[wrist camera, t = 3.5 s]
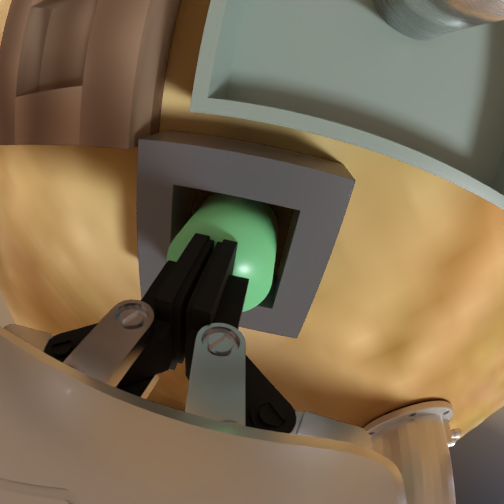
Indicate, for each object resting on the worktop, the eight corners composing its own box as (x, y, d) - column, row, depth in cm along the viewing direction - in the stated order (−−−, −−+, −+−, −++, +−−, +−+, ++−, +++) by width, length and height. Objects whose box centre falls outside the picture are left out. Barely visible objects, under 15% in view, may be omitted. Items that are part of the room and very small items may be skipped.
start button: (287, 199, 13) (284, 237, 10) (268, 272, 16) (260, 323, 12) (199, 181, 13) (167, 212, 10) (193, 255, 16) (167, 300, 12)
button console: (343, 164, 13) (355, 180, 10) (297, 303, 17) (296, 338, 15) (167, 130, 13) (138, 139, 10) (161, 271, 18) (141, 300, 15)
